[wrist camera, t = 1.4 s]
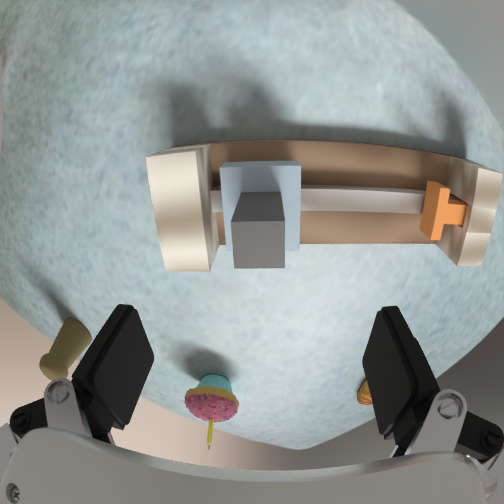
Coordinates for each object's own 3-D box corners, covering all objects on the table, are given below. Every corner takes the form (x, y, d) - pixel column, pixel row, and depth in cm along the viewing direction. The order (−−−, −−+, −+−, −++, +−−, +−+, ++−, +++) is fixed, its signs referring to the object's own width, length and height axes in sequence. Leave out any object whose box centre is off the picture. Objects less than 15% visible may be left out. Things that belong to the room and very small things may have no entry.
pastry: (374, 398, 43) (378, 413, 40) (346, 395, 42) (349, 412, 39) (403, 369, 39) (409, 385, 35) (375, 365, 38) (380, 383, 35)
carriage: (227, 159, 23) (200, 188, 14) (295, 158, 22) (313, 185, 14) (232, 232, 26) (213, 294, 17) (295, 231, 26) (307, 294, 17)
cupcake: (246, 393, 42) (241, 454, 32) (201, 395, 44) (189, 452, 33) (232, 365, 39) (222, 434, 28) (182, 367, 40) (163, 430, 29)
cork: (61, 313, 37) (29, 357, 27) (89, 325, 37) (58, 374, 28) (68, 336, 40) (40, 378, 30) (94, 347, 40) (68, 393, 31)
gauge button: (427, 180, 21) (440, 187, 18) (470, 186, 20) (484, 194, 18) (419, 229, 23) (430, 240, 21) (462, 230, 23) (474, 240, 20)
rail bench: (173, 146, 24) (145, 157, 18) (466, 159, 22) (502, 174, 16) (185, 239, 29) (165, 271, 23) (452, 238, 27) (481, 264, 21)
